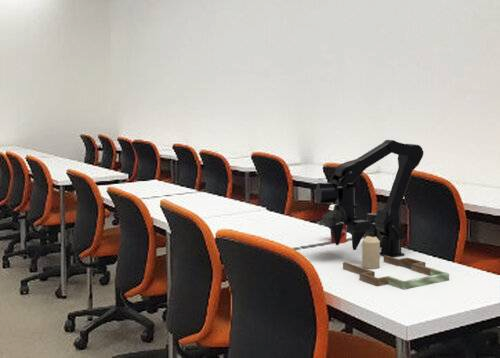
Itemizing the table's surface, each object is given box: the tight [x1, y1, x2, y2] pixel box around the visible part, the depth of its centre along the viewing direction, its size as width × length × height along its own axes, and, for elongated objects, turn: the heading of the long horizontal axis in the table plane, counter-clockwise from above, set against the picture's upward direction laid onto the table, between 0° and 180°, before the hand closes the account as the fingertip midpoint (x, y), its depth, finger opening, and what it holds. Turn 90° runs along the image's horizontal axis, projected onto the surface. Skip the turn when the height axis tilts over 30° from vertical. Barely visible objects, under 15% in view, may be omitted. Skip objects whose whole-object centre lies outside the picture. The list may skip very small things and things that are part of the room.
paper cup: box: [328, 203, 348, 244], centre depth 247 cm, size 8×8×14 cm
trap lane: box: [342, 255, 450, 290], centre depth 200 cm, size 26×28×2 cm
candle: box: [361, 236, 381, 270], centre depth 209 cm, size 6×6×10 cm
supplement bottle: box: [363, 212, 384, 248], centre depth 239 cm, size 7×7×12 cm
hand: (345, 247), depth 220 cm, fingers open, 9 cm apart
